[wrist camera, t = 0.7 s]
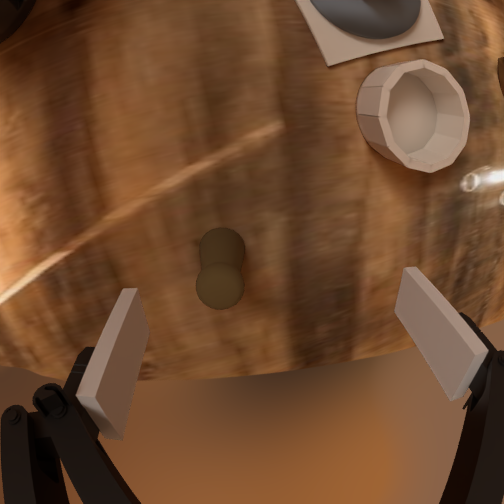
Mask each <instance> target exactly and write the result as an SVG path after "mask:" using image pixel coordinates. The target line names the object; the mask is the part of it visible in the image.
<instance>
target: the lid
mask: <svg viewBox="0 0 504 504" xmlns="http://www.w3.org/2000/svg"><path fill="white" fill-rule="evenodd" d="M310 2H311V3H312V5H313V6H314V7H315V8H316V10H317V11H318V12H319V13H320V14H321V15H322V16H323V17H325V18H326V19H327V20H328V21H329V22H331V23H332V24H334V25H335V26H337V27H338V28H340V29H342V30H344V31H346V32H348V33H350V34H353V35H356V36H359V37H363V38H368V39H386V38H391V37H394V36H397V35H400V34H402V33H404V32H406V31H407V30H409V29H410V28H411V27H412V26H413V25H414V23H415V22H416V20H417V18H418V16H419V12H420V6H421V0H310Z"/></svg>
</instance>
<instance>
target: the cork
mask: <svg viewBox="0 0 504 504" xmlns="http://www.w3.org/2000/svg"><path fill="white" fill-rule="evenodd" d="M244 251H245V245H244V242H243V239H242V238H241V237H240V235H239V234H238V233H236V232H235V231H234V230H231V229H228V228H216V229H212V230H211V231H209V232H207V233H206V234H205V235H204V237H203V238H202V240H201V242H200V260H201V270H202V271H201V272H200V273H199V275H198V278H197V280H196V291H197V294H198V297H199V299H200V300H201V301H202V302H203V303H204V304H205V305H207V306H208V307H210V308H213V309H219V310H223V309H228V308H230V307H232V306H234V305H236V304H237V303H238V302H239V301H240V299H241V297H242V295H243V293H244V280H243V277H242V275H241V273H240V271H241V267H242V262H243V257H244Z"/></svg>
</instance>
